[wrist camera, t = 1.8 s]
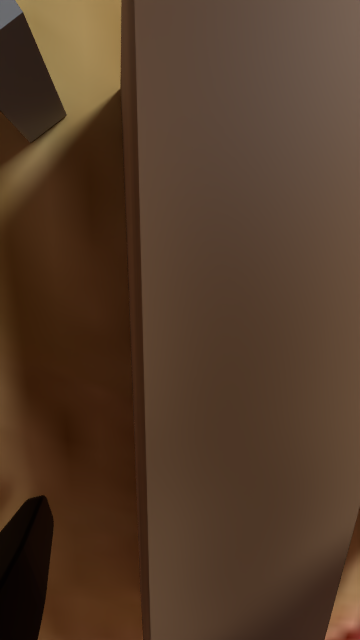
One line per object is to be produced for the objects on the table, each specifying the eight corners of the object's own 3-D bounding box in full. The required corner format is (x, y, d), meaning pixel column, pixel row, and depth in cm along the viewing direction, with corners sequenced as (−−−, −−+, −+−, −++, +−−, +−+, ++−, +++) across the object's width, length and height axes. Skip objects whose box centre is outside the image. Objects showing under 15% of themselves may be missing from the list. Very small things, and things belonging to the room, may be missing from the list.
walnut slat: (254, 109, 8) (536, -158, 3) (218, 567, 14) (284, 787, 8) (120, 92, 8) (126, -338, 2) (140, 586, 13) (155, 845, 8)
